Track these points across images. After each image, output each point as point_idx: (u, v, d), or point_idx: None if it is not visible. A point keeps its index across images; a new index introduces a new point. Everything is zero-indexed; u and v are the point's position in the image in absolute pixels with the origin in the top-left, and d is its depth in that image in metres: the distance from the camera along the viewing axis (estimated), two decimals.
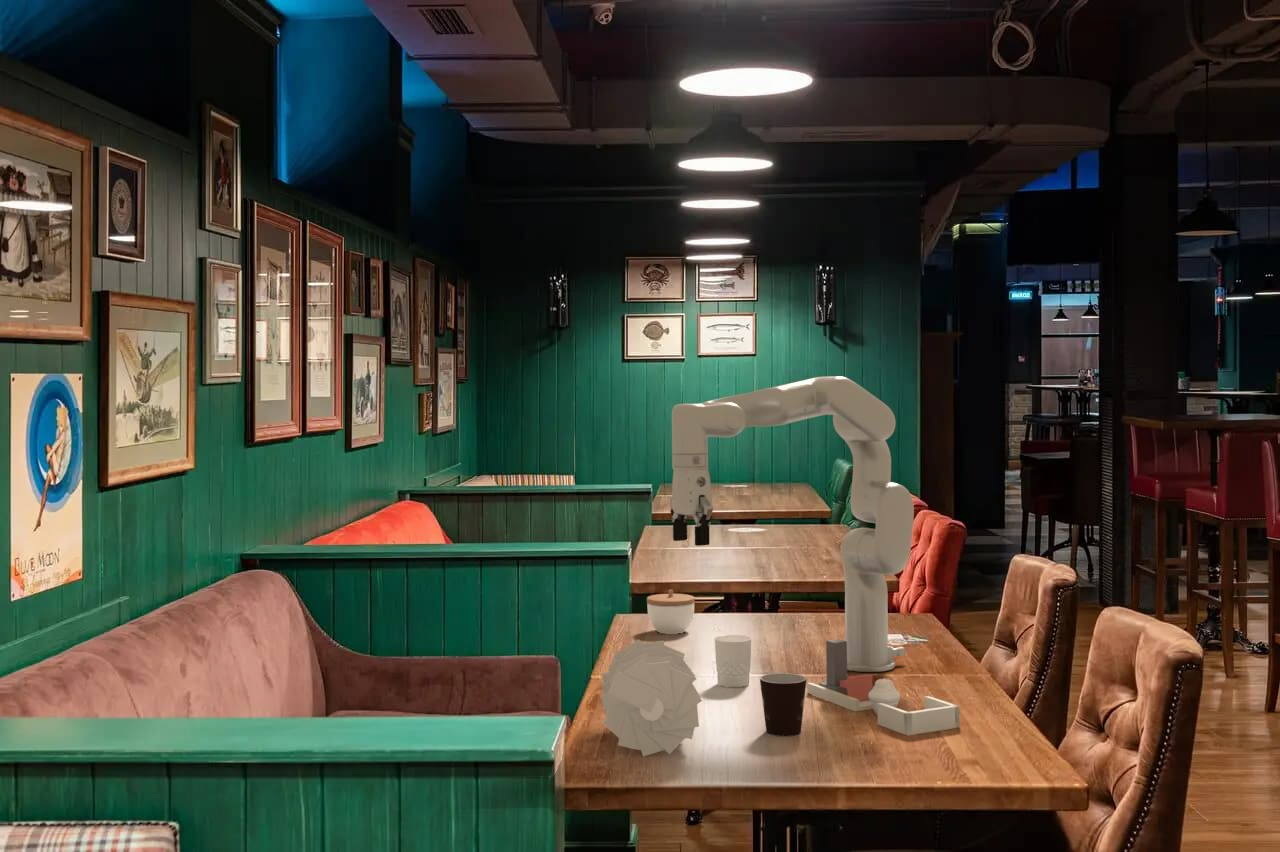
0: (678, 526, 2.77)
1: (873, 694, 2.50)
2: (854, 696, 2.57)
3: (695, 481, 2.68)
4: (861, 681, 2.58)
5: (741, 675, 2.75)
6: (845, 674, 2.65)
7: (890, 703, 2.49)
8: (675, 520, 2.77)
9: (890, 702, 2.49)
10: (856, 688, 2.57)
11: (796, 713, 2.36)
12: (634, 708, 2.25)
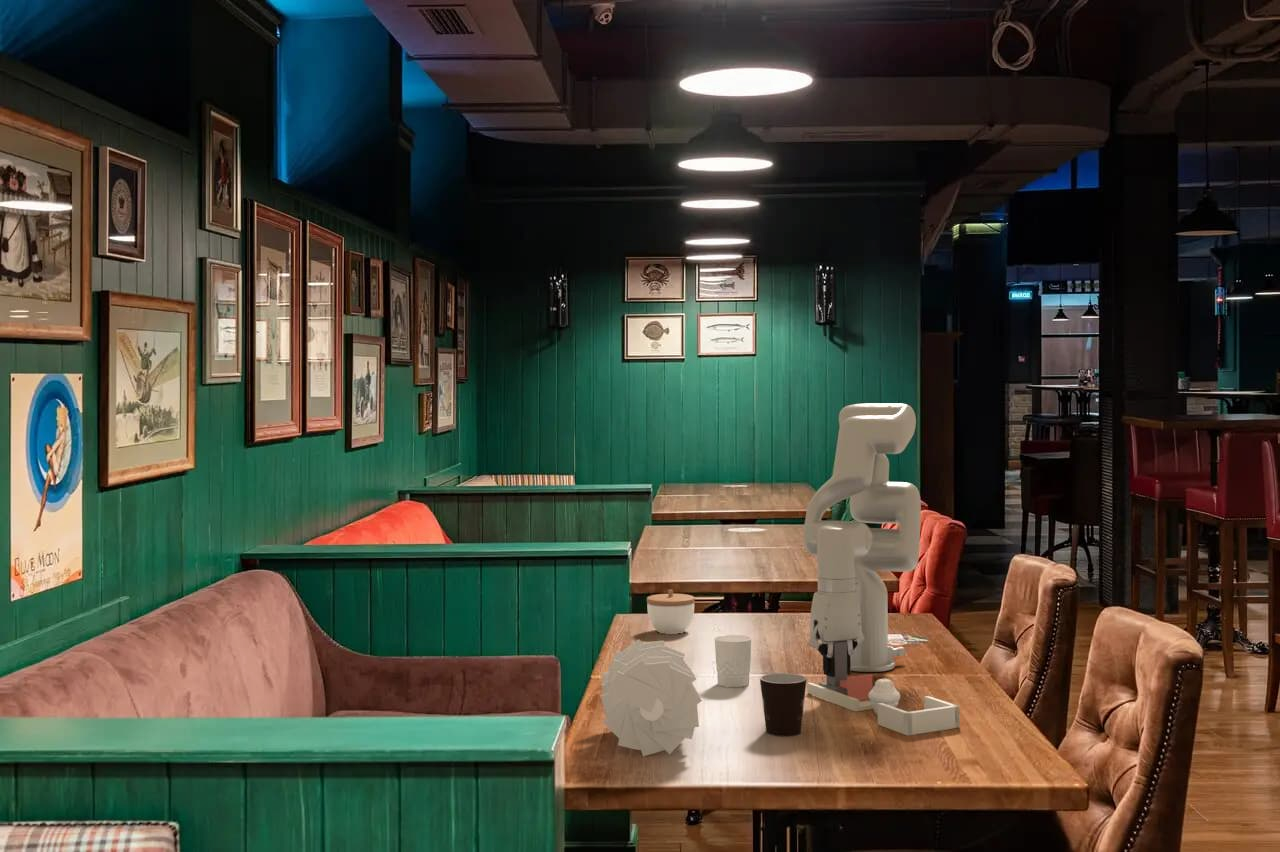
0: None
1: (873, 694, 2.50)
2: (854, 696, 2.57)
3: None
4: (861, 681, 2.58)
5: (741, 675, 2.75)
6: (845, 674, 2.65)
7: (890, 703, 2.49)
8: None
9: (890, 702, 2.49)
10: (856, 688, 2.57)
11: (796, 713, 2.36)
12: (634, 708, 2.25)
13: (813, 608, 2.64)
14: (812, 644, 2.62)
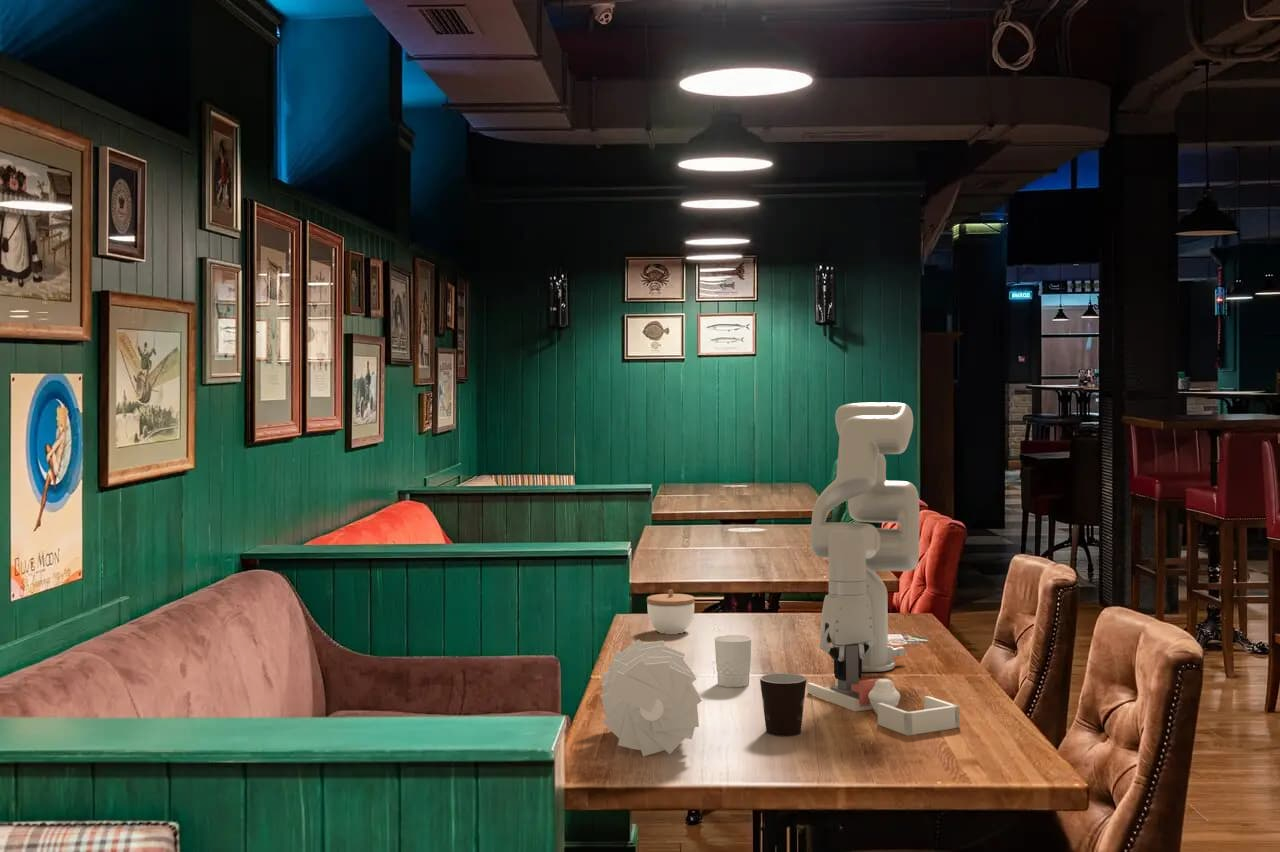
0: None
1: (873, 694, 2.50)
2: (866, 700, 2.54)
3: None
4: (873, 684, 2.54)
5: (741, 675, 2.75)
6: (856, 678, 2.61)
7: (890, 703, 2.49)
8: None
9: (890, 702, 2.49)
10: (867, 692, 2.54)
11: (796, 713, 2.36)
12: (634, 708, 2.25)
13: (824, 611, 2.61)
14: (823, 647, 2.59)
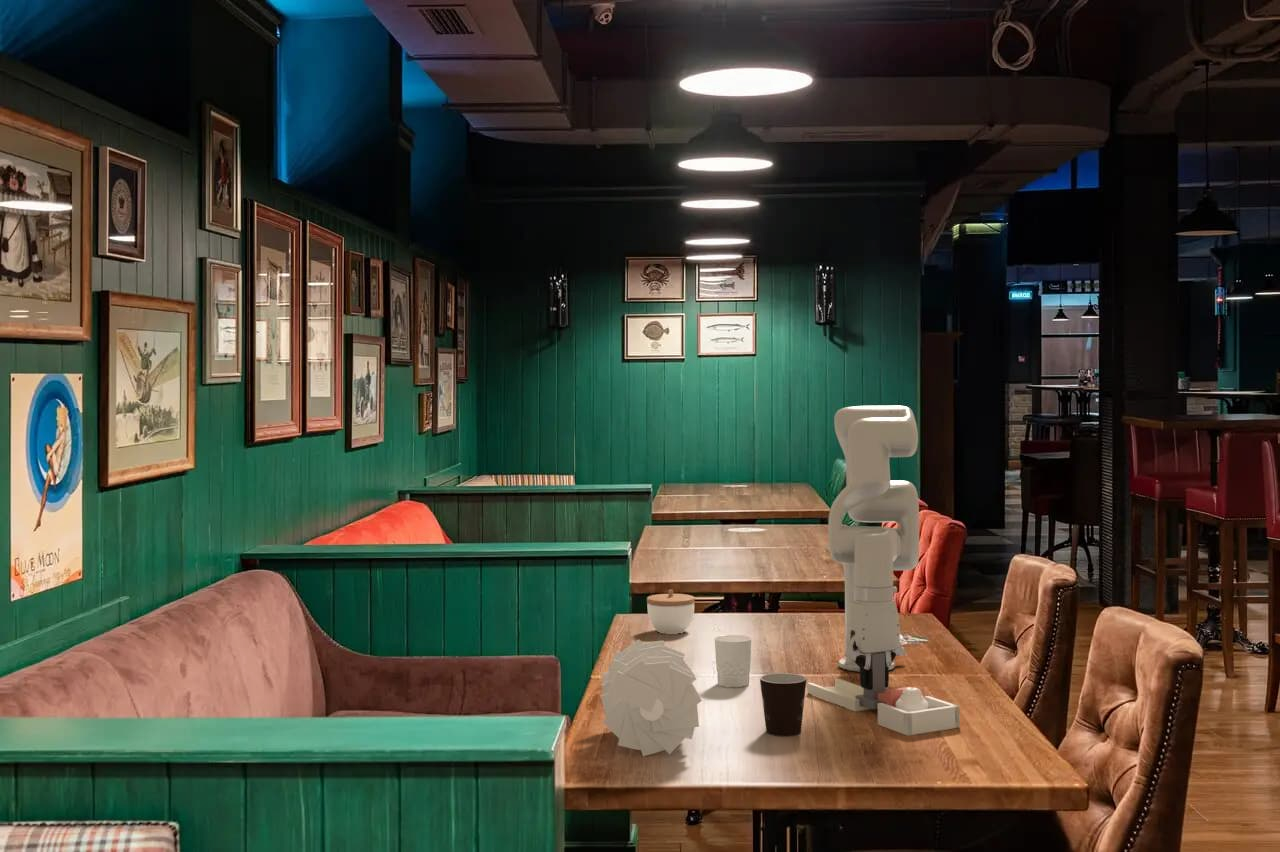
0: None
1: (901, 703, 2.42)
2: None
3: None
4: (901, 694, 2.46)
5: (741, 675, 2.75)
6: (883, 687, 2.53)
7: None
8: None
9: None
10: (895, 702, 2.46)
11: (796, 713, 2.36)
12: (634, 708, 2.25)
13: (850, 618, 2.53)
14: (849, 656, 2.51)
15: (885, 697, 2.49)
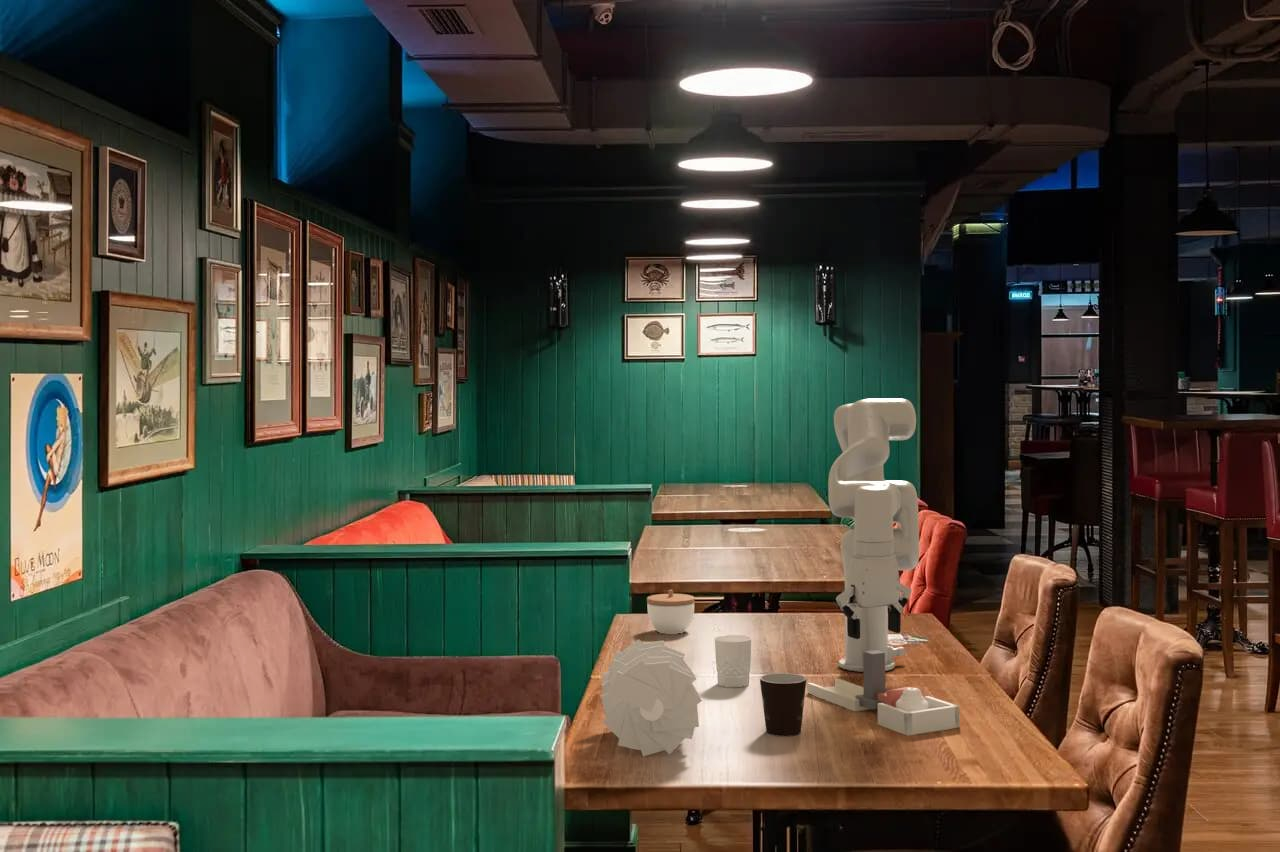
0: None
1: (901, 703, 2.42)
2: None
3: None
4: (901, 694, 2.46)
5: (741, 675, 2.75)
6: (883, 687, 2.53)
7: None
8: None
9: None
10: (895, 702, 2.46)
11: (796, 713, 2.36)
12: (634, 708, 2.25)
13: (850, 572, 2.53)
14: (840, 599, 2.50)
15: (885, 697, 2.49)
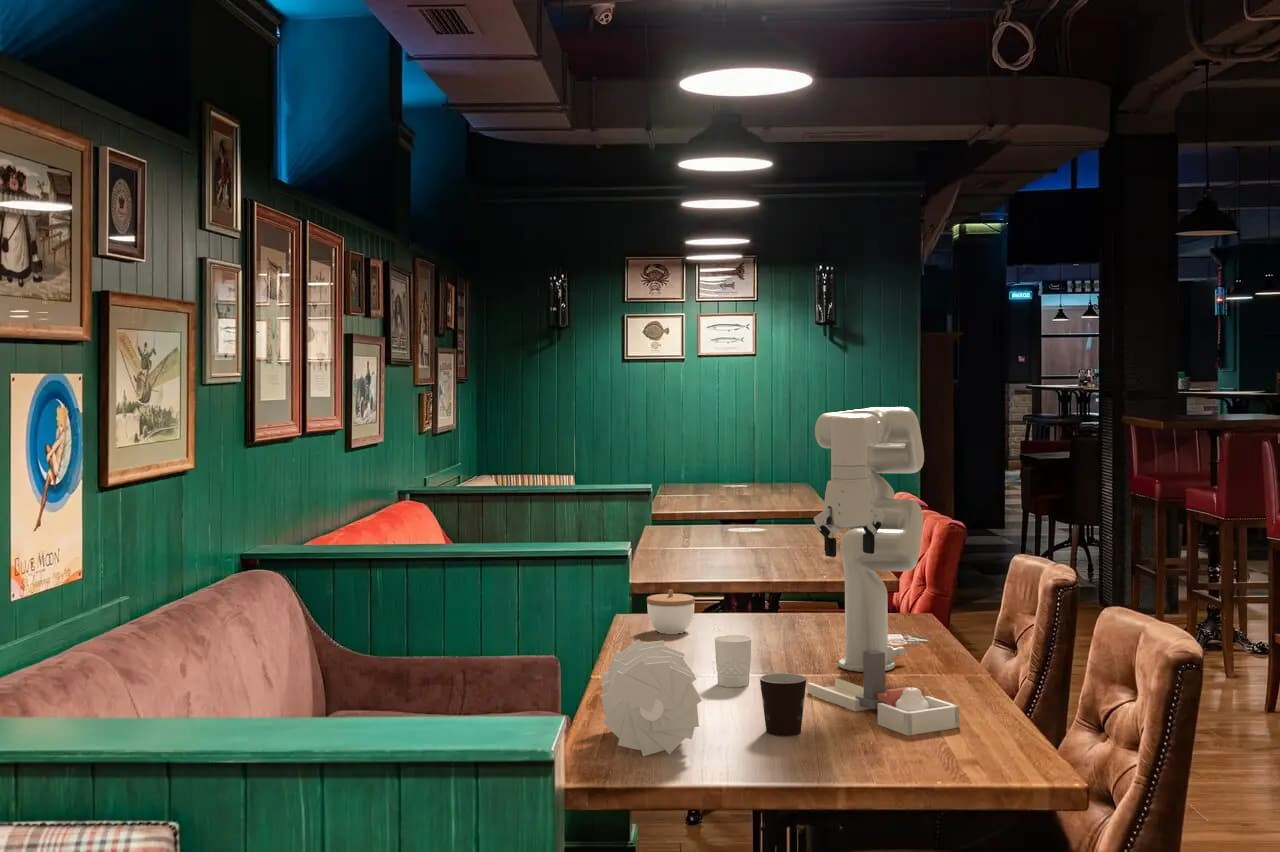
0: None
1: (901, 703, 2.42)
2: None
3: None
4: (901, 694, 2.46)
5: (741, 675, 2.75)
6: (883, 687, 2.53)
7: None
8: None
9: None
10: (895, 702, 2.46)
11: (796, 713, 2.36)
12: (634, 708, 2.25)
13: (827, 495, 2.71)
14: (817, 519, 2.68)
15: (885, 697, 2.49)
